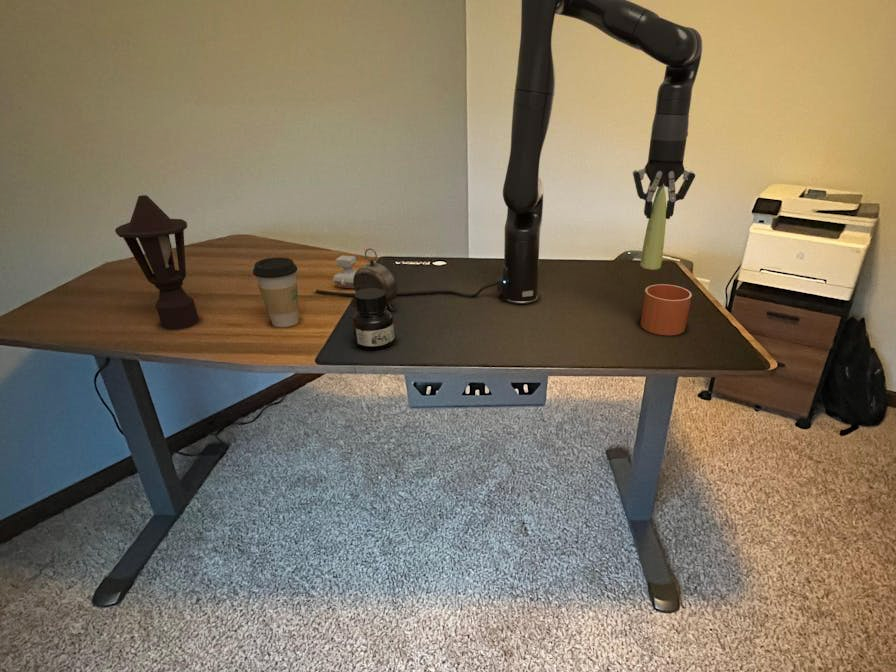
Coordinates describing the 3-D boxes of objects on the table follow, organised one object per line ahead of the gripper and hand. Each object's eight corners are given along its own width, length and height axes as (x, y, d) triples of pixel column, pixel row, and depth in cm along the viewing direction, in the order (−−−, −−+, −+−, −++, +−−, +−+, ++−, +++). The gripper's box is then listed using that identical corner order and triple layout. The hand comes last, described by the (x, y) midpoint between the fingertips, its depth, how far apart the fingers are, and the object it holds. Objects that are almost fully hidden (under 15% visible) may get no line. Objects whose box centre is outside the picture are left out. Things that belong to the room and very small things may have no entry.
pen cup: (643, 334, 137) (648, 299, 133) (637, 316, 147) (642, 283, 142) (689, 336, 137) (696, 301, 132) (680, 318, 146) (686, 285, 142)
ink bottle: (357, 354, 126) (350, 303, 120) (350, 338, 133) (343, 289, 127) (400, 347, 129) (396, 297, 123) (391, 331, 136) (387, 284, 130)
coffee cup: (314, 317, 143) (304, 259, 135) (289, 332, 134) (277, 272, 127) (282, 311, 145) (270, 254, 138) (255, 326, 137) (241, 266, 130)
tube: (667, 268, 135) (680, 183, 125) (652, 272, 132) (664, 185, 122) (650, 262, 139) (661, 179, 129) (635, 265, 136) (645, 181, 127)
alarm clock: (399, 309, 148) (394, 248, 140) (387, 317, 143) (381, 254, 135) (365, 302, 152) (358, 242, 143) (352, 309, 147) (344, 248, 139)
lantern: (181, 339, 130) (141, 206, 115) (130, 330, 134) (85, 200, 119) (227, 315, 143) (196, 192, 128) (179, 307, 146) (143, 187, 131)
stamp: (353, 292, 157) (349, 263, 153) (331, 290, 159) (327, 261, 154) (368, 282, 165) (364, 253, 161) (347, 279, 166) (343, 251, 162)
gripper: (698, 135, 124) (685, 214, 133) (633, 134, 125) (624, 213, 133) (706, 139, 117) (692, 223, 126) (637, 138, 118) (628, 221, 127)
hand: (657, 217), depth 130 cm, fingers closed on tube, 3 cm apart
